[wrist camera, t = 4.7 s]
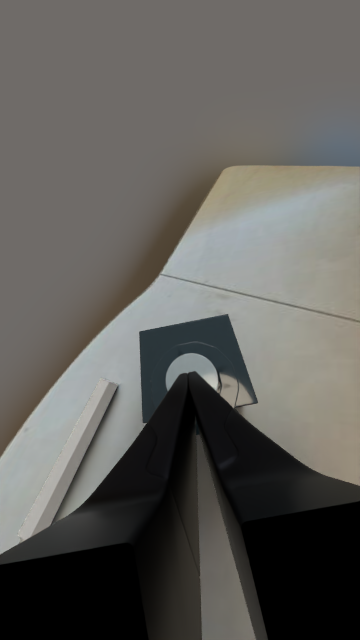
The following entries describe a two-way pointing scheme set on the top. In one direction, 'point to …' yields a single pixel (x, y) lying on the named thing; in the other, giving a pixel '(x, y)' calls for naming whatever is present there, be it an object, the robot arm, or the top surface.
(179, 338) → the push button box
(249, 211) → the top surface
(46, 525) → the pale grey rod
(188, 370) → the pale grey disc
